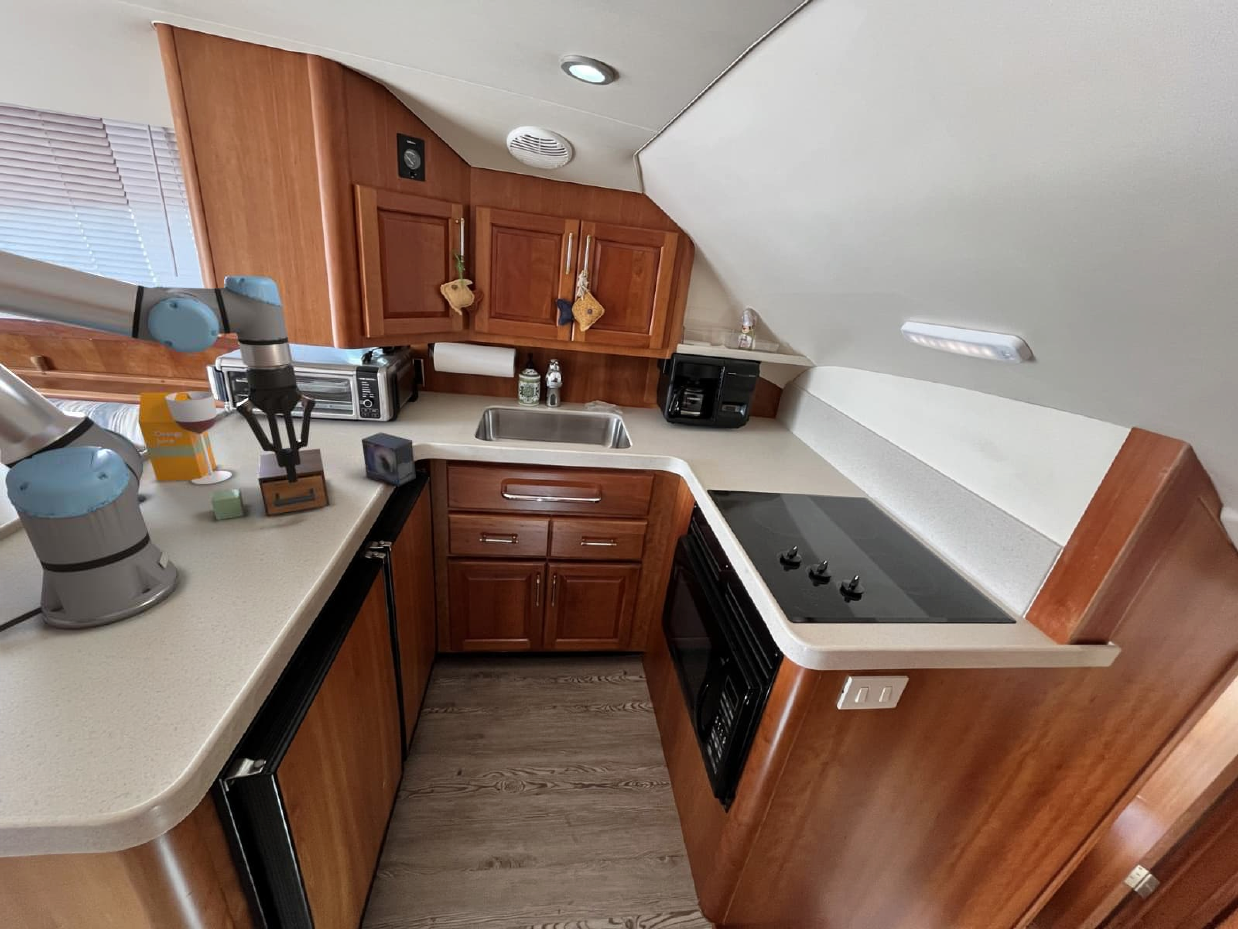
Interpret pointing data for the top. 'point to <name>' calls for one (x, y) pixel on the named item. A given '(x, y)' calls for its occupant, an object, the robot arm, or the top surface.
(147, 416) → the orange juice
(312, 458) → the cabinet
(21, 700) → the top surface
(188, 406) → the wineglass
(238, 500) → the block
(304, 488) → the drawer
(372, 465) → the small box
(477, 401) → the top surface
